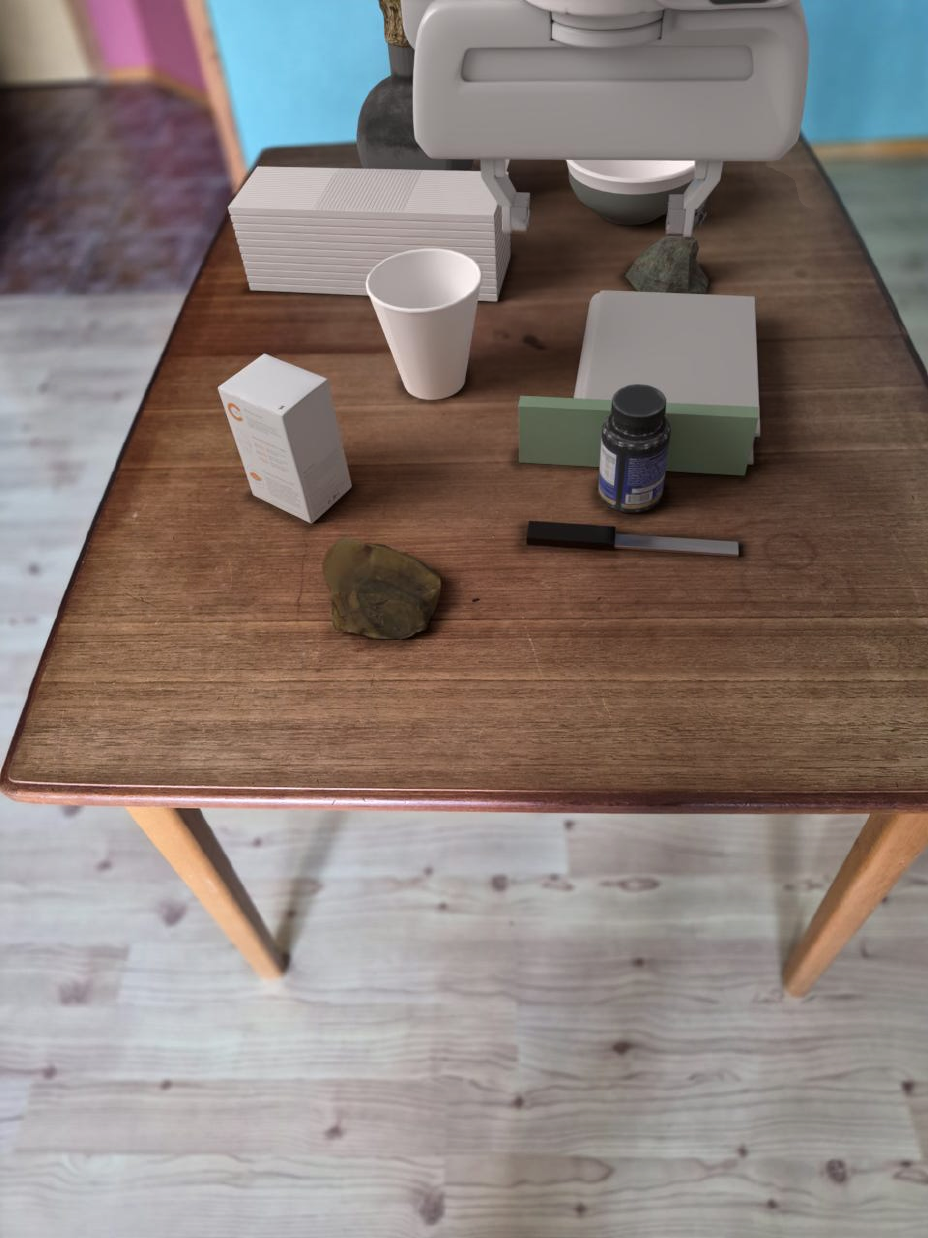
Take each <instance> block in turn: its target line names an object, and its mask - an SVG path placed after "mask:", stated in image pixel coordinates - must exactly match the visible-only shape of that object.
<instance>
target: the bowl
mask: <svg viewBox="0 0 928 1238" xmlns="http://www.w3.org/2000/svg"><path fill="white" fill-rule="evenodd" d="M565 161H566V164H567V168H568V170H567V172H568V180H569V184H570V186H571V188H572V190H573V192H574V195H575V196H576V198H577V199H578V200H579V201H580V202H581V203H582V204H583V205H584V206H585V207H587V208H588V209H589V210H591V211H592V212H593V213H596V214H598V215H600V216H601V217H603V218H604V219H605V220H607V221H609V222H611V223H615V224H618V225H623V226H624V225H626V226H636V225H637V226H638V225H644V224H648V223H651V222H653V221H655V220H658V218H660V217H662V216H664V215H667V213H668V201H669V195H671V194H684V192H685V191H686V189H687V188H688V187H689V185H690V184H691V182H692V181H693V179H694V178H695V161H659V160H565Z"/></svg>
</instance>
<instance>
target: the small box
mask: <svg viewBox="0 0 928 1238" xmlns="http://www.w3.org/2000/svg"><path fill="white" fill-rule="evenodd" d="M217 390H218V393H219V396H220V399H221V403H222V405H223V408H224V411H225V414H226V416H227V420H228V423H229V426H230V429H231V433H232V436H233V438H234V439H233V440H234V441H235V444H236V448H237V450H238V453H239V456H240V460H241V463H242V465H243V468H244V471H245V475H246V477H247V480H248V484H249V487H250V489H251V494H252V495H253V496H254V497H256V498H258V499H260V500H262V501H263V502H266V503H268V504H271V505H272V506H274V507H277V508H278V509H279V510H283V511H285V512H286V513H289V514H291V515H292V516H293V517H294V516H295V517H296V518H299V519H300V520H303V521H305V522H307V523H309V524H310V525H311V524H314V522H316V521H317V520H318V519H319V518H320V517H321V516H322V515H323V514H325V513H326V512H327V511H328V510H329V509H330V508H331V507H333V505H334V504H335V503H337V502H338V501H339V500H340V499H341V498H342V497H343V496H344V495H345V494H346V493H347V492H348V491H349V490H350V489H351V488H352V485H353V484H352V481H351V480H352V479H351V476H350V472H349V468H348V463H347V457H346V453H345V449H344V444H343V439H342V436H341V431H340V426H339V423H338V418H337V414H336V409H335V405H334V401H333V396H332V392H331V387H330V382H329V379H328V378H327V377H325V376H322V375H319V374H317V373H314V372H312V371H309V370H307V369H304V368H302V367H299V366H297V365H295V364H292V363H290V362H287V361H285V360H282V359H280V358H277V357H274V356H272V355H269V354H267V353H262V355H260V356H259V357H257V358H256V359H254V360H253V361H252V362H251V363H249V364H247V365H246V366H245V367H244V368H242V369H241V370H240V371H238V372H237V373H235V374H234V375H233V376H231V377H230V378H229V379H227V380H226V381H224V382H223V383H221V384H220V385H218V387H217Z"/></svg>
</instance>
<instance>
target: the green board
mask: <svg viewBox="0 0 928 1238" xmlns="http://www.w3.org/2000/svg"><path fill="white" fill-rule="evenodd" d="M611 404H612V400H600V399H579V398H574V397H558V396H557V397H556V396H555V397H553V396H537V395H536V396H533V395H532V396H531V395H519V400H518V405H517V406H518V409H517V410H518V460H519V461H518V463H520V464H521V463H522V464H537V465H556V466H570V467H571V466H572V467H573V466H574V467H591V468H600V454H601V437H602V426H603V423H604V421H605V419H606V418H607V416H608V415H609V414H610V413H611ZM664 416H665V417H666V418H667V420H668V422H669V424H670V428H671V434H670V441H669V448H668V456H667V463H666V471H665V472H674V473H675V472H677V473H678V472H679V473H691V474H692V473H693V474H711V475H726V476H727V475H728V476H729V475H730V476H746V471H747V468H748V465H749V464H748V460H749V456H750V452H751V447H752V443H753V439H754V440H755V438H754V435H755V431H756V427H757V423H758V419H759V415H758V407H750V406H729V405H707V404H686V403H666V413H665V415H664ZM753 444H754V443H753Z"/></svg>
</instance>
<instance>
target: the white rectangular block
mask: <svg viewBox="0 0 928 1238" xmlns="http://www.w3.org/2000/svg"><path fill="white" fill-rule="evenodd" d="M757 339H758V338H757V316H756V297H755V295H754V296H752V295H750V296H749V295H730V294H728V295H727V294H682V293H658V292H638V291H630V290H609V289H606V290H605V289H604V290H603V289H602V290H600V291H599V292H597V293H595V294H594V295H592V297H591V299H590V301H589V305H588V311H587V317H586V323H585V330H584V334H583V341H582V345H581V346H582V347H581V352H580V359H579V364H578V371H577V376H576V382H575V388H574V389H575V390H574V394H573V398H579V399H600V400H612V398H613V395H614V394H615V393H616V392H617V391H618V390H619V389H621V388H623V387H626V386H628V385H634V384H643V385H649V386H652V387H655V388H657V389H659V390H660V391H661V392H662V393H663V394H664V395H665V398H666V403H686V404H707V405H729V406H750V407H758V415H759V419H758V423H757V427H756V431H755V435H754V439H753V443H752V447H751V452H750V456H749V460H748V464H747V465H751V466H752V465H754V441H755V438H760V437H761V420H760V419H761V418H760V416H761V415H760V414H761V413H760V394H759V392H760V391H759V368H758V367H759V366H758V343H757Z"/></svg>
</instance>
